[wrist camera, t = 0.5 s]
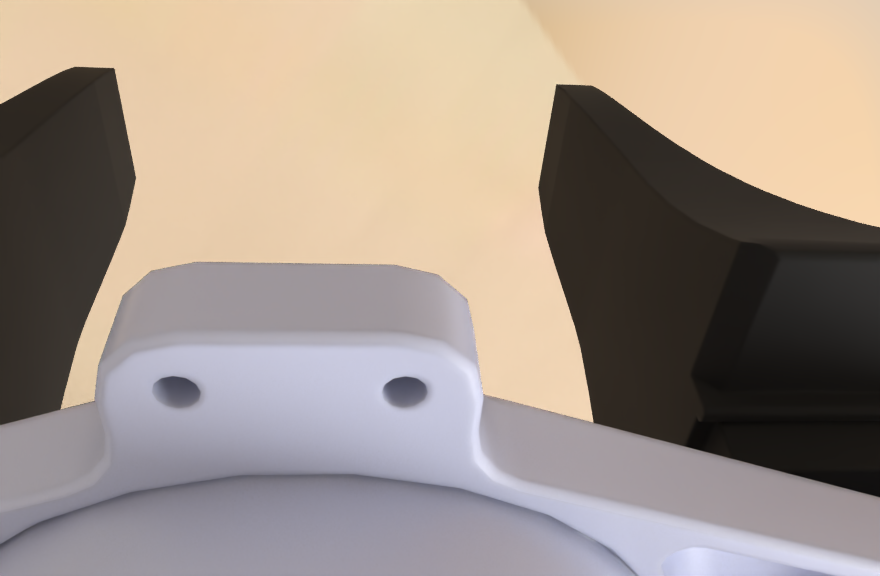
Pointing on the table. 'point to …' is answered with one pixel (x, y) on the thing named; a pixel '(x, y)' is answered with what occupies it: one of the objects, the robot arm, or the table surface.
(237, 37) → the table surface
